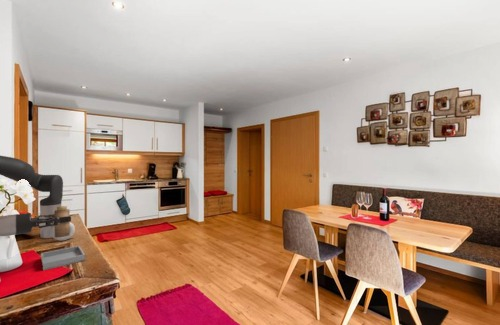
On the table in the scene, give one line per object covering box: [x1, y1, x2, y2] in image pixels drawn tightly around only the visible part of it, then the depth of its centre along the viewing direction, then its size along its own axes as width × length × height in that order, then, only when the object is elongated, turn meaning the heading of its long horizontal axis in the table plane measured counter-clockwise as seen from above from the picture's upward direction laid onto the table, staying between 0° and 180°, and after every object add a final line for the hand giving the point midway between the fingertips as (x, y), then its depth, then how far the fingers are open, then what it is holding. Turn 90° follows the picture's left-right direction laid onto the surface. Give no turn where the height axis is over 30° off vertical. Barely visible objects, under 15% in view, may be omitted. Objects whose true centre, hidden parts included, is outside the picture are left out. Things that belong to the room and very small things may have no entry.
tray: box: [40, 245, 86, 271], centre depth 104 cm, size 14×13×2 cm
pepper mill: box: [54, 205, 71, 238], centre depth 104 cm, size 5×5×12 cm
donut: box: [51, 221, 76, 242], centre depth 129 cm, size 10×4×10 cm, turn 130°
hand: (69, 217), depth 106 cm, fingers closed on pepper mill, 5 cm apart
